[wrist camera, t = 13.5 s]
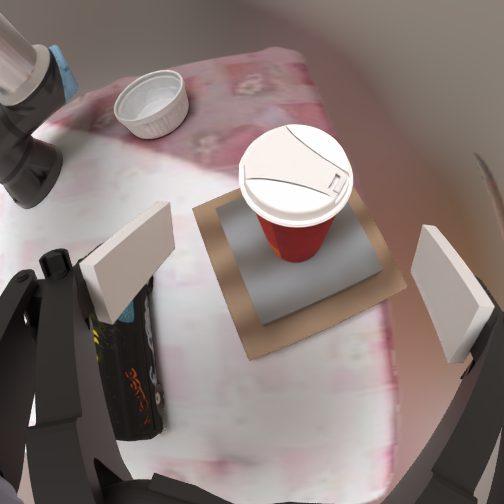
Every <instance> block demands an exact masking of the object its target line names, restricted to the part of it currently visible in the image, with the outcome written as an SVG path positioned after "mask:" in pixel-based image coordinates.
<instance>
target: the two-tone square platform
mask: <svg viewBox="0 0 504 504" xmlns="http://www.w3.org/2000/svg"><path fill="white" fill-rule="evenodd" d="M192 210H193V213H194V215H195V218H196V221H197V224H198V227H199V230H200V233H201V236H202V238H203V241H204V244H205V247H206V250H207V252H208V255H209V258H210V261H211V263H212V266H213V269H214V272H215V274H216V277H217V280H218V282H219V285H220V288H221V290H222V293H223V296H224V298H225V301H226V304H227V306H228V309H229V311H230V314H231V317H232V319H233V322H234V324H235V327H236V329H237V332H238V334H239V337H240V339H241V342H242V344H243V347H244V349H245V352H246V354H247V357H248V359H249V361H250V360H253V359H255V358H258V357H261V356H263V355H266V354H268V353H271V352H273V351H276V350H278V349H281V348H283V347H286V346H288V345H290V344H293V343H295V342H297V341H300V340H302V339H304V338H307V337H309V336H311V335H313V334H316V333H318V332H320V331H322V330H324V329H327V328H329V327H331V326H333V325H335V324H337V323H339V322H342V321H344V320H346V319H348V318H350V317H352V316H354V315H356V314H358V313H360V312H362V311H364V310H366V309H368V308H370V307H372V306H374V305H376V304H378V303H379V302H381V301H383V300H385V299H387V298H389V297H391V296H392V295H394V294H396V293H398V292H400V291H401V290H404V289H405V288H407V285H406V283H405V281H404V279H403V277H402V274H401V272H400V270H399V268H398V266H397V264H396V262H395V260H394V258H393V256H392V254H391V252H390V250H389V248H388V246H387V244H386V243H385V241H384V239H383V237H382V235H381V233H380V231H379V229H378V228H377V226H376V224H375V222H374V220H373V219H372V217H371V215H370V213H369V212H368V210H367V208H366V206H365V205H364V203H363V201H362V200H361V198H360V196H359V194H358V193H357V191H356V189H355V188H354V186H352V191H351V194H350V197H349V199H348V201H347V202H346V204H345V206H344V207H343V208H342V209H341V210H340V211H339V212H338V213H337V215H336V217H335V218H334V220H333V222H332V225H331V227H330V229H329V231H328V233H327V235H326V237H325V239H324V241H323V243H322V245H321V246H320V248H319V250H318V251H317V253H316V254H315V255H314V256H313V257H311V258H310V259H308V260H306V261H304V262H300V263H291V262H287V261H285V260H282V259H281V258H279V257H278V256H277V255H276V254H275V253H274V251H273V250H272V248H271V247H270V245H269V243H268V240H267V238H266V236H265V234H264V231H263V229H262V227H261V224H260V222H259V220H258V218H257V215H256V213H255V211H254V210H252V208H251V207H250V206H249V205H248V204H247V202H246V200H245V199H244V197H243V195H242V192H241V189H240V188H239V189H236V190H234V191H231V192H229V193H227V194H224V195H222V196H220V197H217V198H215V199H213V200H211V201H208V202H206V203H204V204H201V205H199V206H197V207H195V208H192Z"/></svg>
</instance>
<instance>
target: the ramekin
mask: <svg viewBox="0 0 504 504" xmlns="http://www.w3.org/2000/svg"><path fill="white" fill-rule="evenodd" d="M188 105H189V103H188V98H187V94H186V90H185V82H184V80H183V78H182V76H181V75H180V74H179V73H177V72H175V71H171V70H161V71H156V72H152V73H149V74H147V75H144V76H142V77H140V78H139V79H137V80H135V81H134V82H132V83H131V84H130V85H129V86H127V87H126V88H125V89H124V90H123V91H122V93H121V94H120V95H119V97H118V98H117V100H116V102H115V106H114V114H115V116H116V118H117V119H118V121H119V122H121V123H122V124H124V125H125V126H126V127H127V128H128V129H129V130H130V131H131V132H132V133H133V134H134V135H136V136H138V137H139V138H143V139H155V138H159V137H162V136H165V135H167V134H169V133H170V132H172V131H173V130H175V129H176V128H177V127H178V126H179V125H180V124H181V123H182V122H183V120H184V118H185V117H186V115H187V112H188V108H189V106H188Z"/></svg>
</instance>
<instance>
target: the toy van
mask: <svg viewBox="0 0 504 504" xmlns="http://www.w3.org/2000/svg"><path fill="white" fill-rule="evenodd" d="M82 259H83V258H82ZM82 259H79V260H78V262H79V261H81V260H82ZM78 262H77V263H78ZM77 263H76V264H77ZM152 288H153V275H152V276H151V278H150V279H149V280H148V281H147V282H146V284H145V285H144V286H143V287H142V288H141V290H140V291H139V292H138V293H137V295H136V296H135V297H134V298H133V300H132V301H131V302H130V303H129V305H128V306H127V307H126V308H125V310H124V311H123V312H122V313H121V315H120V316H119V317H118V318H117V320H116V321H115V322H114V324H113V325H112V324H108V323H105V322H101V321H99V320H98V318H97V315H96V313H95V310H94V311H93V312H92V313H91V314H90V318H91V320H92V325H93V333H94V341H95V348H96V354H97V360H98V366H99V372H100V377H101V382H102V387H103V392H104V396H105V401H106V405H107V409H108V413H109V417H110V421H111V425H112V428H113V432H114V435H115V439H116V440H121V441H137V440H148V439H152V438H154V437H155V436H157V435H158V434H164V432H165V430H166V429H165V428H163V422H162V417H161V416H160V415H159V413H160V412H161V411H162V410H163V408H164V398H163V394H164V392H163V389H162V385H161V384H159V383H157V379H156V369H155V357H154V349H153V342H152V333H151V325H150V315H149V304H148V296H147V294H146V293H150V292H151V291H152ZM162 430H163V431H162Z"/></svg>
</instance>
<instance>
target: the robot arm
mask: <svg viewBox="0 0 504 504" xmlns="http://www.w3.org/2000/svg"><path fill="white" fill-rule="evenodd" d="M77 91H78V83H77V81H76V79H75V77H74V76H73V74H72V72H71V70H70V68H69V66H68V64H67V62H66V61H65V58H64V57H63V55H62V53H61V51H60V49H59V47H58V46H57V45H53V46H52V47H49V48H48V49H47V48H46V47H45V46H43V45H32V46H31V45H30V44H29V43H28V42H27V41H26V40H25V39H24V38H23V36H21V34H20V33H19V32H18V31H17V30H16V29H15V28H14V27H13V26H12V25H11V24H10V23H9V22H8V21H7V20H6V18H5V17H4V16H3V15H2V14H1V13H0V183H1V184H2V185H3V186H4V187H5V189H6V190H7V192H8V193H9V195H10V196H11V197H12V198H13V200H14V202H15V203H16V204H18V205H19V206H21V207H22V208H25V209H28V208H31V207H34V206H35V205H37V204H38V203H39V202H40V201H41V200H42V199H43V198H44V197H45V196H46V195H47V194H48V192H49V191H50V190H51V188H52V187H53V185H54V183H55V181H56V179H57V177H58V175H59V172H60V169H61V165H62V155H61V152H60V151H59V150H58V149H57V148H56V147H55V146H54V145H52V144H48V143H46V142H43V141H41V140H38V139H35V138H33V137H32V136H31V134H32V133H33V132H34V131H35V130H36V129H37V128H38V127H39V126H41V125H42V124H43V123H44V122H45V121H46V120H47V119H48V118H49V117H51V116H52V115H53V114H54V113H55V112H56V111H57V110H59V109H60V108H61V107H62V106H63V105H65V104H66V103H67V101H68V100H70V99H71V98H72V97H73V96H74V95H75V94H76V93H77ZM174 249H175V243H174V235H173V227H172V218H171V208H170V202H156V203H155V204H154V205H152V206H151V207H150V208H148V209H147V210H146V211H144V212H143V213H142V214H140V215H139V216H138V217H136V218H135V219H134V220H132V221H131V222H130V223H128V224H127V225H126V226H124V227H123V228H122V229H121V230H119V231H118V232H117V233H116V234H114V235H113V236H112V237H111V238H109V239H108V240H107V241H106V242H104V243H102V244H100V245H99V246H97V247H96V248H95V249H94V250H93V251H91V252H90V253H89V254H88V256H85V257H84V258H83V259H82V260H81V261H79V262H78V263H77V264H76V265H75V266H74V267H72V264H71V261H70V257H69V254H68V251H67V250H66V249H61V248H60V249H55V250H52V251H49V252H47V253H46V254H44V255H43V256H42V257H41V258H40V260H39V262H40V265H41V268H42V271H43V273H44V276H45V279H38V280H37V277H36V275H35V272H34V270H32V269H27V270H22V271H21V272H20V271H19V272H18V273H17V274H16V275H14V276H13V278H12V279H11V280H10V282H9V283H8V285H7V286H6V288H5V290H4V291H3V293H2V294H1V296H0V504H24V503H23V501H22V500H21V499H20V498H18V497H17V492H18V489H19V485H20V481H21V476H22V470H23V462H24V453H25V445H26V450H27V459H28V467H29V474H30V481H31V487H32V492H33V497H34V502H35V504H233V503H231V502H229V501H226V500H224V499H222V498H220V497H218V496H215V495H213V494H211V493H209V492H207V491H205V490H203V489H201V488H199V487H197V486H195V485H192V484H188V483H185V482H181V481H178V480H175V479H172V478H169V477H165V476H162V475H160V474H157V473H154V475H153V477H152V479H151V480H149V479H137V480H133V478H132V476H131V474H130V472H129V471H128V469H127V467H126V466H125V464H124V462H123V460H122V458H121V455H120V452H119V449H118V446H117V442H116V439H115V435H114V432H113V428H112V425H111V421H110V417H109V413H108V409H107V405H106V401H105V396H104V392H103V387H102V382H101V377H100V372H99V366H98V360H97V354H96V348H95V341H94V333H93V325H92V320H91V318H90V314H91V313H92V312H93V311H94V310H95V313H96V315H97V318H98V320H99V321H101V322H105V323H108V324H112V325H113V324H114V322H115V321H116V320H117V318H118V317H119V316H120V315H121V313H122V312H123V311H124V310H125V308H126V307H127V306H128V305H129V303H130V302H131V301H132V300H133V298H134V297H135V296H136V295H137V293H138V292H139V291H140V290H141V288H142V287H143V286H144V285H145V284H146V282H147V281H148V280H149V279H150V278H151V276H152V275H153V274H154V273H155V272H156V270H157V269H158V268H159V267H160V266H161V264H162V263H163V262H164V261H165V260H166V258H167V257H168V256H169V255H170V254H171V253H172V251H173V250H174ZM410 272H411V274H412V276H413V278H414V280H415V282H416V284H417V286H418V289H419V291H420V293H421V296H422V298H423V300H424V302H425V305H426V307H427V309H428V312H429V314H430V317H431V319H432V322H433V324H434V327H435V329H436V331H437V334H438V337H439V339H440V342H441V345H442V348H443V350H444V353H445V356H446V359H447V362H448V364H452V363H463V362H464V361H465V359H466V358H467V356H468V354H469V353H470V352H471V354H472V357H473V360H472V362H471V363H470V365H469V366H468V368H467V369H466V371H465V372H464V374H463V375H462V376H461V378H460V379H463V380H462V382H461V384H460V386H459V388H458V390H457V392H456V394H455V396H454V398H453V400H452V402H451V404H450V406H449V407H448V409H447V411H446V413H445V415H444V416H443V418H442V420H441V422H440V423H439V425H438V427H437V428H436V430H435V432H434V433H433V435H432V436H431V438H430V440H429V441H428V443H427V444H426V446H425V447H424V449H423V450H422V452H421V453H420V455H419V456H418V458H417V459H416V460H415V462H414V463H413V465H412V466H411V467H410V469H409V470H408V471H407V473H406V474H405V475H404V477H403V478H402V479H401V480H400V482H399V483H398V484H397V485H396V487H395V488H394V489H393V490H392V492H391V493H390V494H389V495H388V496H387V498H386V499H385V500H384V501H383V502H382V503H381V504H477V498H476V497H474V496H473V494H474V491H475V488H476V486H477V484H478V482H479V480H480V478H481V476H482V474H483V472H484V470H485V468H486V465H487V463H488V461H489V459H490V456H491V454H492V452H493V449H494V447H495V444H496V441H497V439H498V436H499V433H500V431H501V428H502V432H501V440H500V446H499V452H498V458H497V463H496V468H495V473H494V477H493V481H492V485H491V489H490V493H489V497H488V500H487V504H504V312H502V310H501V309H500V307H499V306H498V304H497V302H496V301H495V300H494V298H493V296H491V293H490V292H489V290H487V288H486V286H485V285H484V284H483V282H482V281H481V280H480V279H479V278H478V277H477V276H475V275H474V274H472V272H471V271H470V269H469V268H468V267H467V265H466V264H465V263H464V261H463V260H462V259H461V257H460V256H459V255H458V254H457V252H456V251H455V250H454V248H453V247H452V246H451V245H450V243H449V242H448V241H447V240H446V238H445V237H444V236H443V235H442V234H441V233H440V231H439V230H438V229H437V228H436V227H435V226H429V225H423V226H422V230H421V234H420V238H419V242H418V246H417V250H416V254H415V257H414V261H413V264H412V268H411V271H410ZM24 315H25V317H26V319H27V323H26V324H25V321H24ZM34 394H35V405H36V425H35V426H30V427H28V425H29V419H30V414H31V409H32V404H33V399H34ZM275 504H320V503H298V502H284V503H275Z"/></svg>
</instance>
